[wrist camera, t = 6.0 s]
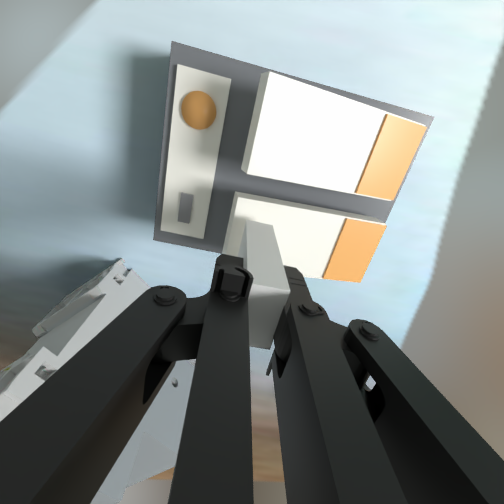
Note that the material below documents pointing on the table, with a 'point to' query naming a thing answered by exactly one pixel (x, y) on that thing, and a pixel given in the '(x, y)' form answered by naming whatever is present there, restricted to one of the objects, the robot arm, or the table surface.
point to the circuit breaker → (75, 338)
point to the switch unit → (230, 150)
